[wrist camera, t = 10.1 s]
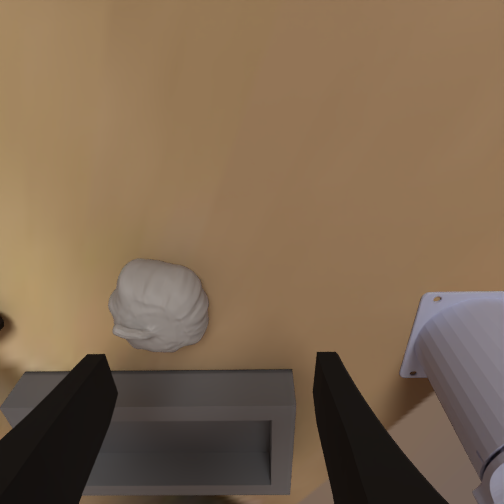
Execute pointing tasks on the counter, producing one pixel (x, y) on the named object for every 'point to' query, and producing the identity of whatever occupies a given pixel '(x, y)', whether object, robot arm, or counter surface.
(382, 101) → the counter surface
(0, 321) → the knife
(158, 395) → the tray
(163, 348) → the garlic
